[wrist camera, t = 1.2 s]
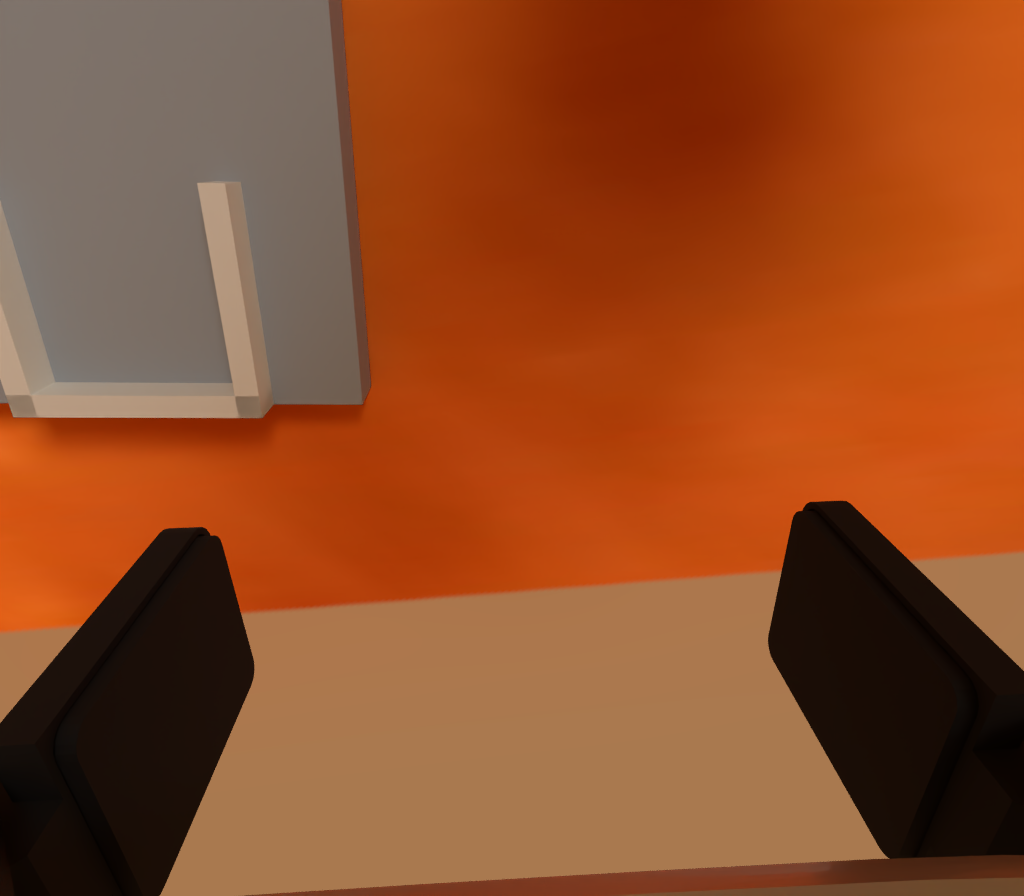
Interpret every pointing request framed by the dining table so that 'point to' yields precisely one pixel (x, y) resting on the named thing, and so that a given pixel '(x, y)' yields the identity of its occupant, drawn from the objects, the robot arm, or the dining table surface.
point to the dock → (177, 209)
